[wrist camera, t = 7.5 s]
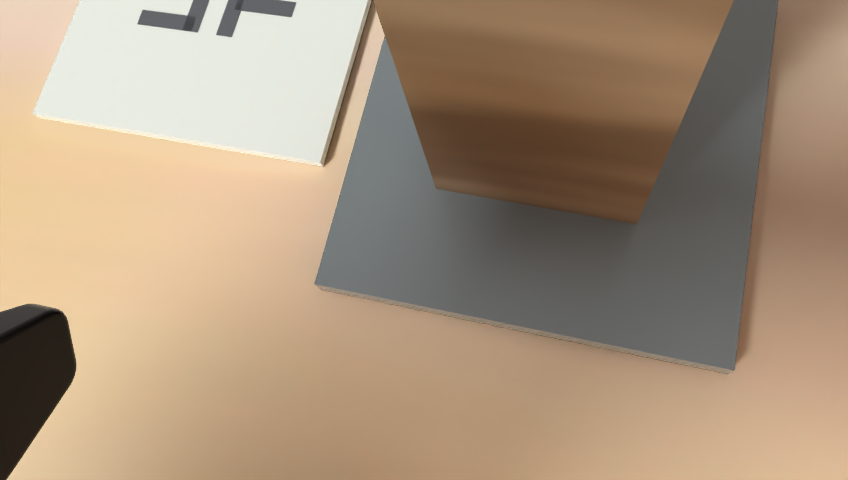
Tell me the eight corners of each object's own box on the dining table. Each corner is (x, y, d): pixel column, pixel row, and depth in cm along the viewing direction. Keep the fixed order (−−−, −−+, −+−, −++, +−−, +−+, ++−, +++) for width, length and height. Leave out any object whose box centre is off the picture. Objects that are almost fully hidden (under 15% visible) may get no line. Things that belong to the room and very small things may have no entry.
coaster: (727, 373, 17) (734, 370, 16) (321, 289, 19) (314, 284, 18) (771, 4, 19) (779, -10, 19) (412, -35, 21) (408, -49, 21)
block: (637, 224, 17) (763, -68, 8) (435, 188, 18) (336, -107, 9) (661, 78, 18) (798, -332, 9) (470, 52, 19) (413, -341, 10)
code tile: (323, 166, 20) (319, 161, 19) (39, 117, 22) (32, 113, 21) (401, -102, 22) (400, -110, 22) (140, -126, 24) (135, -134, 24)
